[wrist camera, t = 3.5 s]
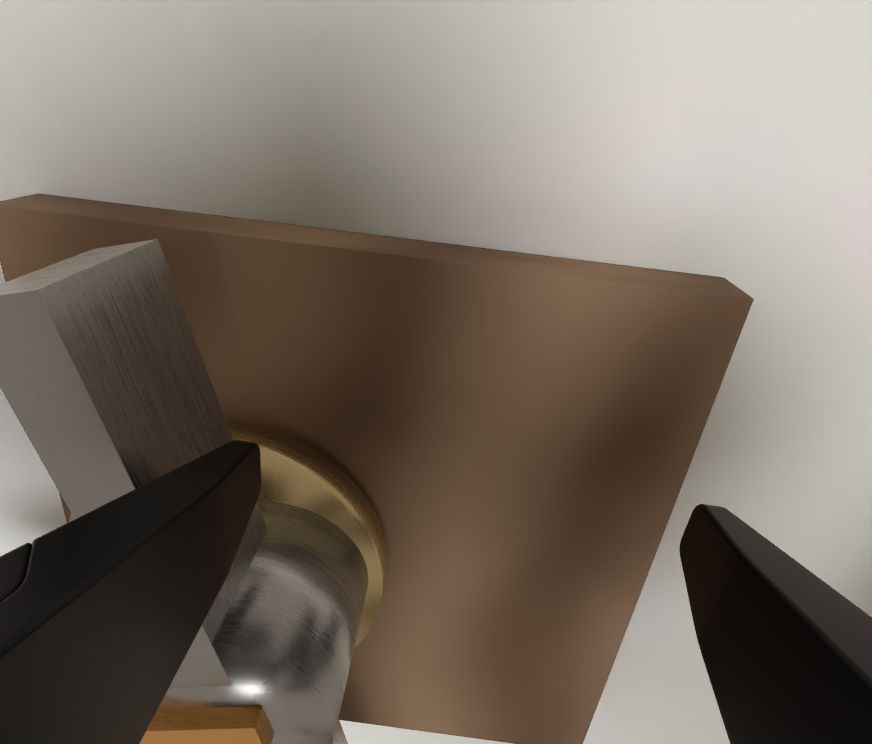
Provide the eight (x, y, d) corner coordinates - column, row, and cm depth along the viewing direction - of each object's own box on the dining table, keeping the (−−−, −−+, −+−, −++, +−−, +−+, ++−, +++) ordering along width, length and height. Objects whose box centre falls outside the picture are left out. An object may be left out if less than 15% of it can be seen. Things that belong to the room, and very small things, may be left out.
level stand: (723, 278, 12) (791, 325, 10) (572, 707, 20) (587, 803, 17) (37, 193, 13) (-80, 218, 10) (134, 648, 20) (80, 734, 17)
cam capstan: (298, 203, 11) (163, 278, 6) (435, 734, 18) (421, 950, 13) (-176, 278, 12) (-572, 385, 8) (129, 741, 19) (21, 939, 15)
